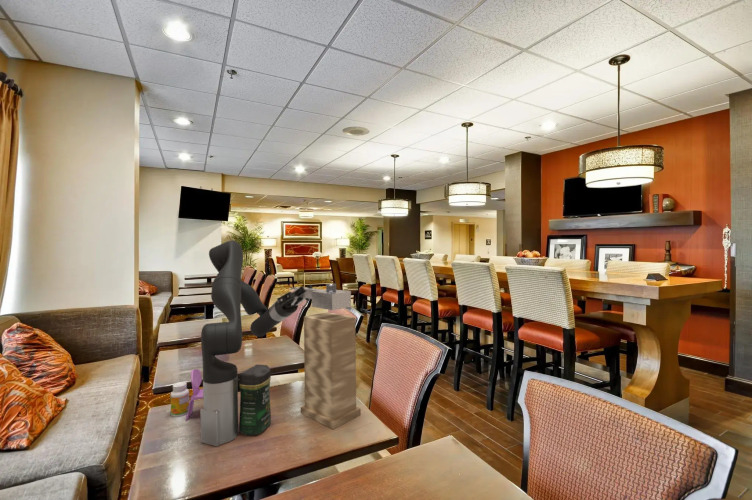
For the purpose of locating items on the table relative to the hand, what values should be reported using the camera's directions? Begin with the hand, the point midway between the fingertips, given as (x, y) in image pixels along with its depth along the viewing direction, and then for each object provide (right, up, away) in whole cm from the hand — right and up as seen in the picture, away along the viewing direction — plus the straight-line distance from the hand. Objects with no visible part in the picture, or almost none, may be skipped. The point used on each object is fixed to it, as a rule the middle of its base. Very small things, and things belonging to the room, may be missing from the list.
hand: (307, 288), depth 122 cm
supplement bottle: (-41, -41, -6) cm, 59 cm away
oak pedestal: (+9, -41, -7) cm, 42 cm away
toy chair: (-33, -41, -7) cm, 53 cm away
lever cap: (+5, -5, -4) cm, 8 cm away
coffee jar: (-13, -41, -16) cm, 46 cm away
